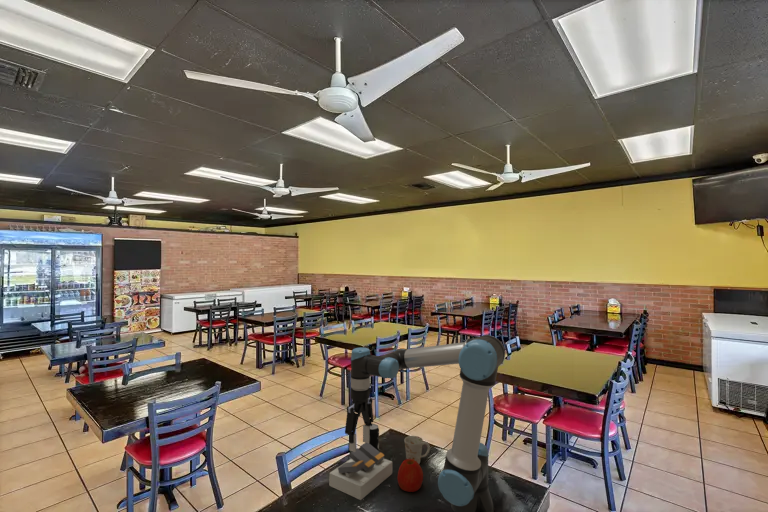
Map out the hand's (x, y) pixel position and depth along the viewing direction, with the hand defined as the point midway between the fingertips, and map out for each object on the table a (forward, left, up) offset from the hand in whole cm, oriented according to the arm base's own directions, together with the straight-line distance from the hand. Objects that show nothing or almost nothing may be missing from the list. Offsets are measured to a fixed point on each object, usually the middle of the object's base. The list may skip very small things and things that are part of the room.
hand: (359, 446), depth 143 cm
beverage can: (+14, -28, -17) cm, 36 cm away
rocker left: (+4, 0, -9) cm, 10 cm away
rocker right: (+4, -14, -9) cm, 17 cm away
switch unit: (+4, -7, -17) cm, 19 cm away
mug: (-8, -33, -17) cm, 38 cm away
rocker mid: (+4, -7, -10) cm, 13 cm away
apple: (-15, -14, -17) cm, 27 cm away
